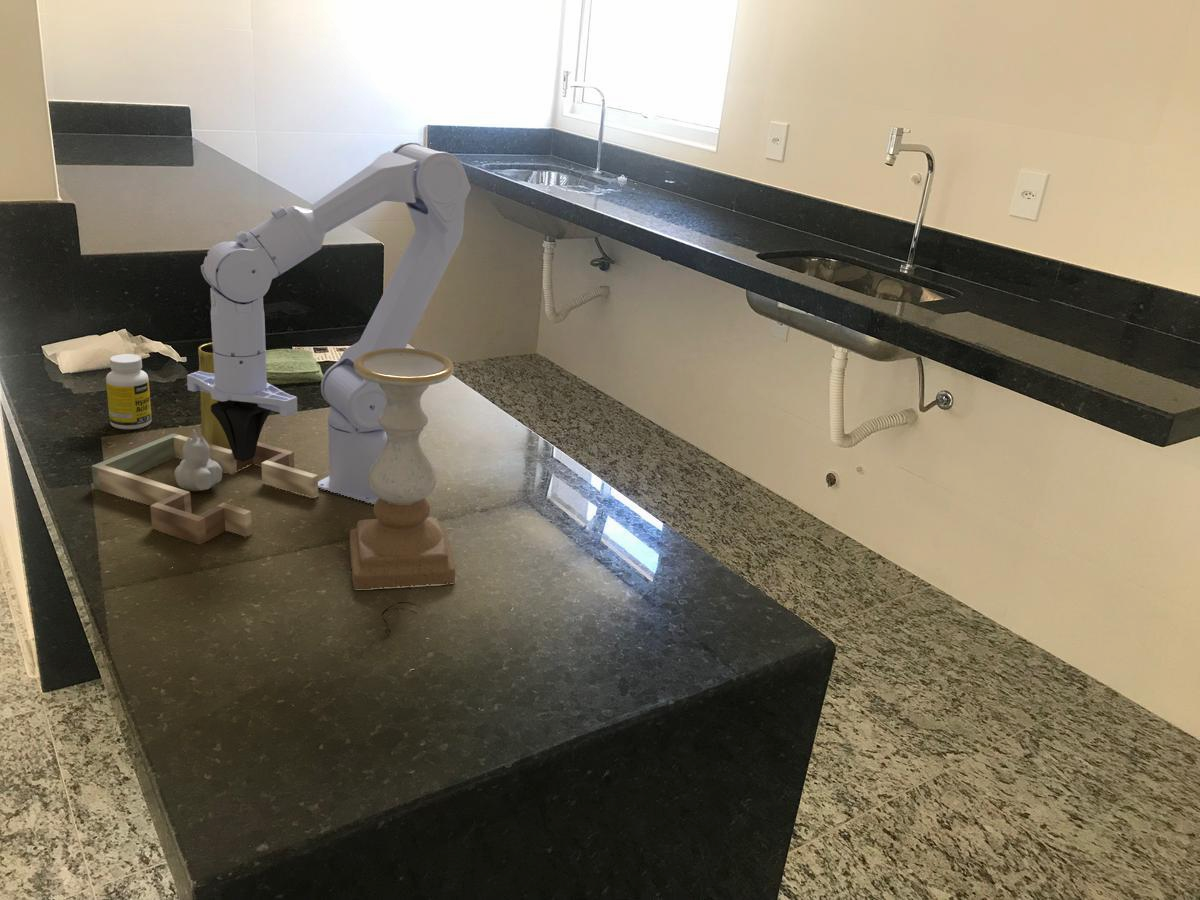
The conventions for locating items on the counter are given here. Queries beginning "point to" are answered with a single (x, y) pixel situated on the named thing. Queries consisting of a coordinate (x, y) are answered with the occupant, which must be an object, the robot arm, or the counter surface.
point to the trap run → (175, 503)
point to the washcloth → (291, 366)
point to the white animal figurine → (197, 466)
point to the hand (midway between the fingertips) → (244, 457)
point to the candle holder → (401, 479)
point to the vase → (210, 403)
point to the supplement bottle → (128, 393)
